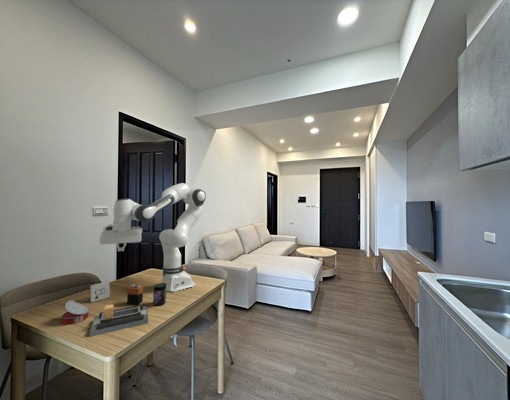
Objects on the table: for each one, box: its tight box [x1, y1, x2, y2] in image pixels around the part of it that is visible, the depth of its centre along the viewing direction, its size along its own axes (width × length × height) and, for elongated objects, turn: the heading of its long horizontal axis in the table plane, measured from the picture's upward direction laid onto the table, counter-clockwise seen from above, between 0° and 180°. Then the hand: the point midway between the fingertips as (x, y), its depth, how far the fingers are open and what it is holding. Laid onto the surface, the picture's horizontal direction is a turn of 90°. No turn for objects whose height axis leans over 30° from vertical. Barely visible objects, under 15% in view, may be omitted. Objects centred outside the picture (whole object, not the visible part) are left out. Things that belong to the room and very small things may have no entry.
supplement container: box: [152, 282, 167, 307], centre depth 120 cm, size 7×7×10 cm
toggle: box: [104, 303, 114, 319], centre depth 98 cm, size 3×4×6 cm
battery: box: [126, 284, 144, 306], centre depth 120 cm, size 4×7×10 cm, turn 83°
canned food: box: [61, 300, 90, 326], centre depth 102 cm, size 11×10×10 cm
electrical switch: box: [89, 281, 111, 303], centre depth 124 cm, size 9×5×9 cm, turn 141°
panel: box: [89, 304, 149, 337], centre depth 100 cm, size 22×14×4 cm, turn 121°
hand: (120, 251), depth 120 cm, fingers closed
